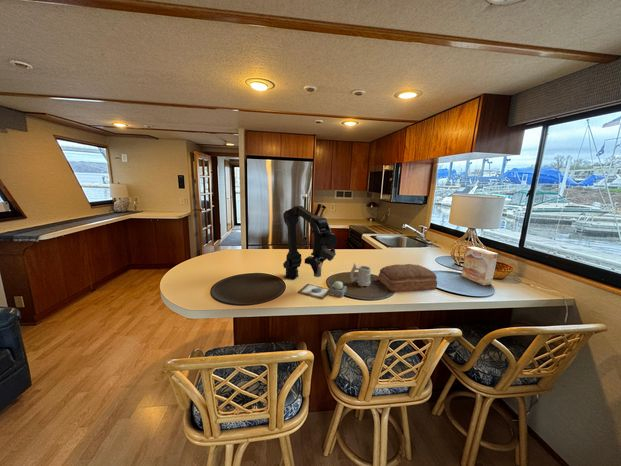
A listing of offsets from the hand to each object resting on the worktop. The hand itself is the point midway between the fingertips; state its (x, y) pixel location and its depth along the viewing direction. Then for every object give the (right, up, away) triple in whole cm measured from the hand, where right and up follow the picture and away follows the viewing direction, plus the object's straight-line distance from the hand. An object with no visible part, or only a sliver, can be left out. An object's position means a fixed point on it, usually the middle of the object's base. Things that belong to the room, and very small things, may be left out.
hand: (317, 272), depth 123 cm
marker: (0, -2, 0) cm, 2 cm away
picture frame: (-1, -10, +3) cm, 11 cm away
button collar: (+11, -11, +2) cm, 16 cm away
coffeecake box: (+99, -9, +27) cm, 103 cm away
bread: (+52, -10, +17) cm, 56 cm away
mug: (+25, -9, +14) cm, 30 cm away
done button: (+11, -9, +2) cm, 15 cm away
